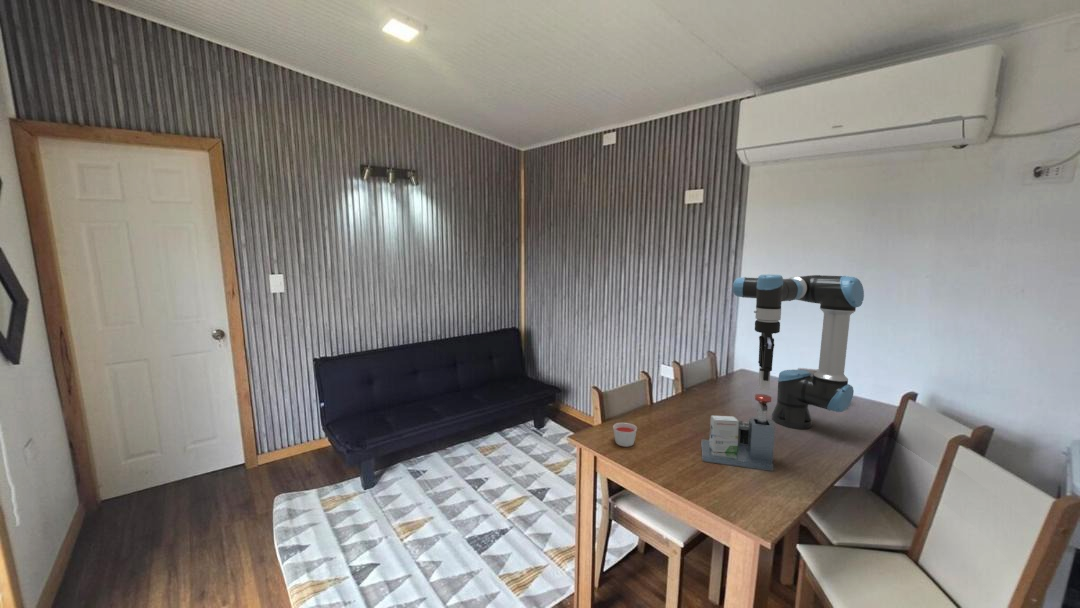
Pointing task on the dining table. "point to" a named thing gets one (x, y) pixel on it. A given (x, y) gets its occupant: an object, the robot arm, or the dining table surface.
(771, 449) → the press
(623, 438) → the candle
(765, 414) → the plunger
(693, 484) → the dining table surface
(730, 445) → the ink box
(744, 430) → the camera
